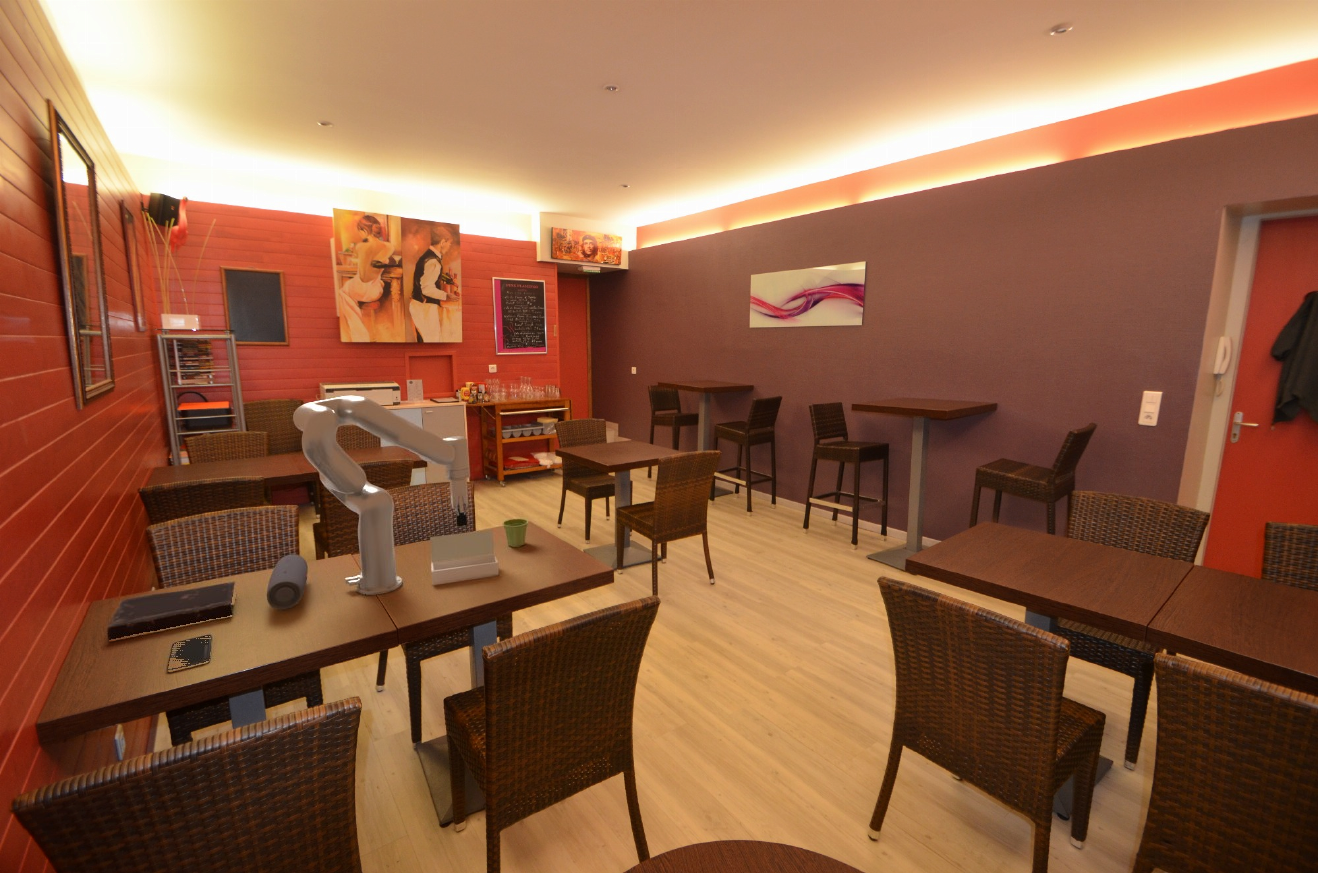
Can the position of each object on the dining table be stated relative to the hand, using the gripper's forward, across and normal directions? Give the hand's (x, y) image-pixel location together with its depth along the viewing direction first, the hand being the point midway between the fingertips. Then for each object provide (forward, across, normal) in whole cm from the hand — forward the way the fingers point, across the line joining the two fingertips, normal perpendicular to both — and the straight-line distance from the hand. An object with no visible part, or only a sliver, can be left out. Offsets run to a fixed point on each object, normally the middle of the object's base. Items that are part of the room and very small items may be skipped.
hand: (462, 525), depth 195 cm
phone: (+11, +37, -66) cm, 77 cm away
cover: (+4, +8, -1) cm, 9 cm away
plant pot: (+14, -10, +19) cm, 25 cm away
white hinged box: (+13, +13, -1) cm, 18 cm away
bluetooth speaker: (+12, +10, -50) cm, 52 cm away
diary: (+12, +12, -76) cm, 78 cm away
